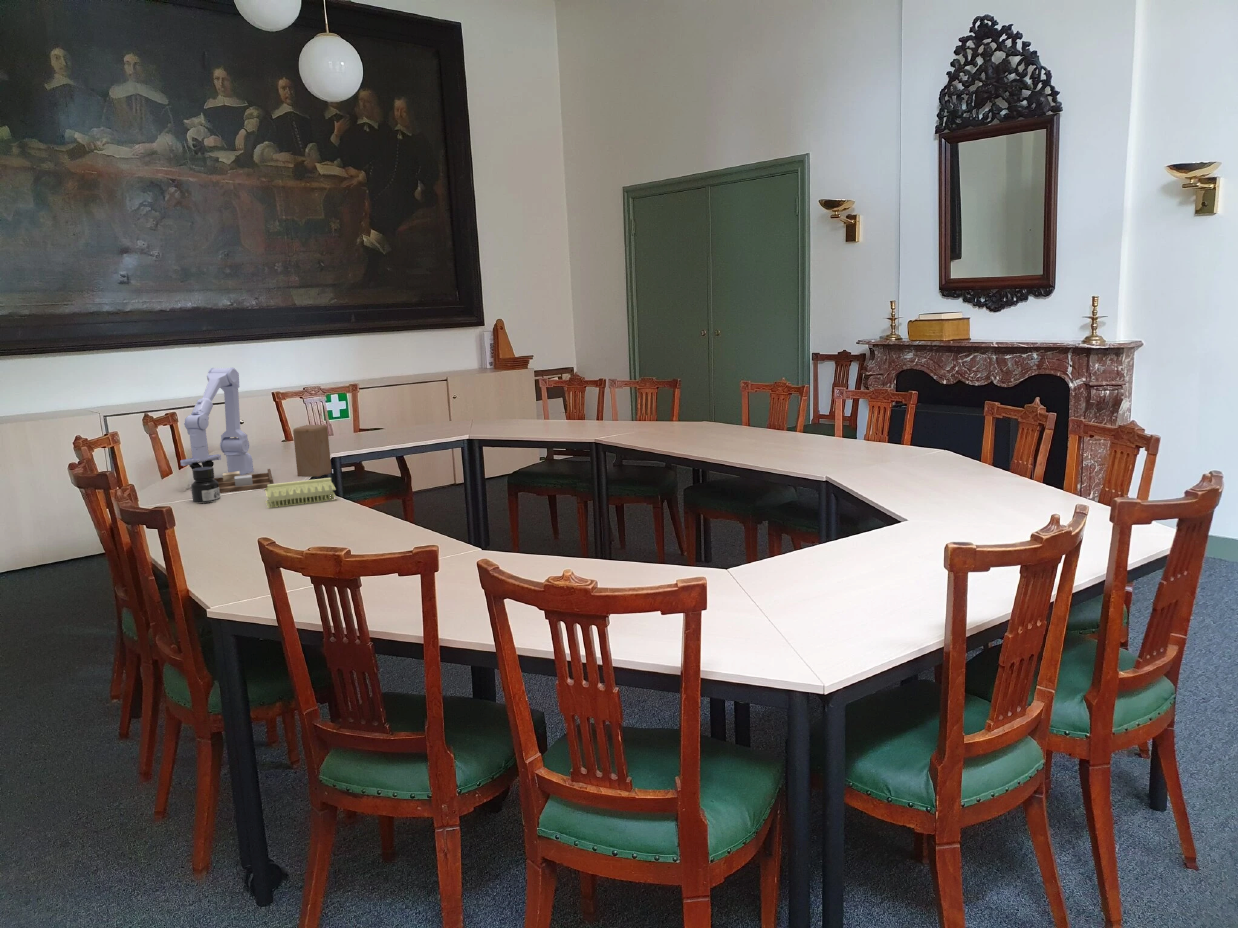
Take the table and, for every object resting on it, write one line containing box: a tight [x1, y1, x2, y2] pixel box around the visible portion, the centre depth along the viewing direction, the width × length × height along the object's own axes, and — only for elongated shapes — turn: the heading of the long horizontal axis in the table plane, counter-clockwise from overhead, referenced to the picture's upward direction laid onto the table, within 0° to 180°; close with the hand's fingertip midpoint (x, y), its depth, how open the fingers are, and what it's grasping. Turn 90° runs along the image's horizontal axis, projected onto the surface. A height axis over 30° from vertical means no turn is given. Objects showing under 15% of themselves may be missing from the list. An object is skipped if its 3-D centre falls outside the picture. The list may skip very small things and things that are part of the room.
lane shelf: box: [213, 468, 274, 494], centre depth 333 cm, size 24×24×4 cm
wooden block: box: [292, 424, 332, 477], centre depth 348 cm, size 10×10×20 cm
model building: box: [264, 477, 337, 509], centre depth 308 cm, size 25×14×7 cm, turn 115°
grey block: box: [234, 474, 253, 487], centre depth 328 cm, size 6×5×4 cm
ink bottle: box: [190, 466, 221, 505], centre depth 309 cm, size 10×9×12 cm
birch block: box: [222, 471, 241, 482], centre depth 334 cm, size 13×5×5 cm, turn 114°
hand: (203, 481), depth 333 cm, fingers closed on birch block, 2 cm apart
